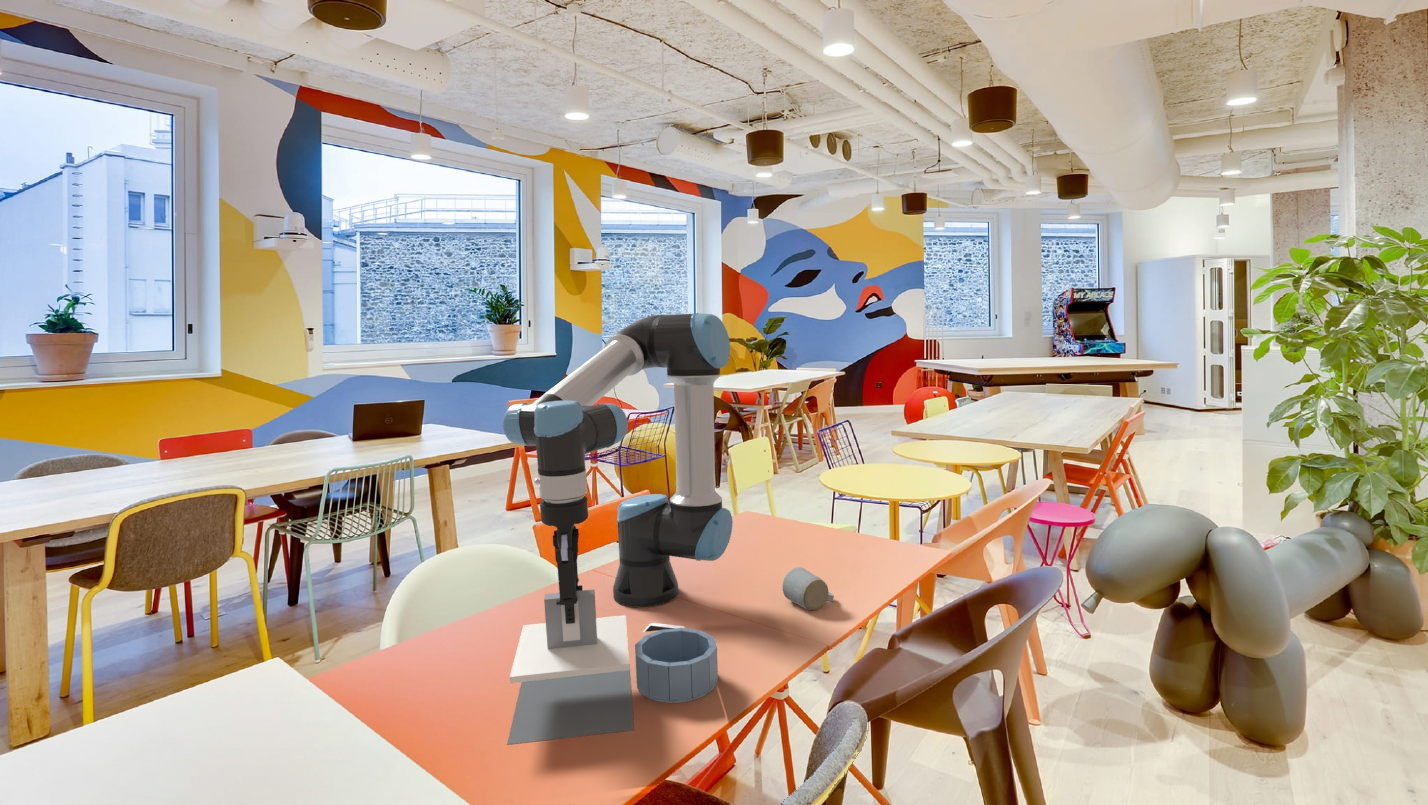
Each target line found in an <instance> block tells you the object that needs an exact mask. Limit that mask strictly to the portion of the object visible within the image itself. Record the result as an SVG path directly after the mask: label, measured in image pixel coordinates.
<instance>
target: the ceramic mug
mask: <svg viewBox="0 0 1428 805" xmlns="http://www.w3.org/2000/svg"><path fill="white" fill-rule="evenodd" d="M781 589H782V594H783V595H784V597H785V598H786V599H787V600H789V601H790V602H793V603H794V604H796V605H799V606H800V607H802V608H803V609H805V610H809V611H817V610H819V609H821V608H822V607H824V605H825V604H826V603H827V602H828V603H832V602H833V601H834V597H835V596H834V593H831V592H829V588H828V584H827V583H826V582H825V581H824V580H823V579H822V578H821V577H819V576H818V575H816V574H814V573H812V572H810V571H809V570H807V569H806V568H803V567H800V566H797V567H794V568H791V570H789V571H788V572H787V573H786V575H785V576H784V579H783V581H782V588H781Z"/></svg>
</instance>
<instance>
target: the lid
mask: <svg viewBox="0 0 1428 805" xmlns="http://www.w3.org/2000/svg"><path fill="white" fill-rule="evenodd" d="M576 593H577V598H578V607H579V623H580V640H574V641H564V642H563V628H562V613H561V605H557V604H556V602H557V600H560V593H559V592H551V593H545V594H544V599H543V600H544V602H543V603H544V617H545V618H544V619H545V622H544V623H543V622H541V623H532V624H531V623H530V624H523V626H522V630H521V632H520V637H519V640H518V645H517V648H516V651H515V657H514V659H513V663H512V666H511V671H510V674H509V684H515V683H522V682H526V681H535V680H544V679H553V678H562V677H571V676H580V675H589V674H598V673H607V672H617V671H626V670H630V671H631V668H630V669H629V666H630V655H629V640H628V630H627V629H628V627H627V614H623V615H613V616H605V617H604V616H602V617H597V611H596V610H597V609H596V607H597V606H596V592H595V589H585V590H583V589H582V591H576Z"/></svg>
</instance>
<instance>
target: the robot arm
mask: <svg viewBox="0 0 1428 805" xmlns="http://www.w3.org/2000/svg"><path fill="white" fill-rule="evenodd" d="M729 337H730V336H729V334H728V330H727V328H726V326H725V324H724V323H723V321H722V320H721V319H720V318H719V317H718V316H717V315H716V314H711V313H701V312H700V313H699V312H696V313H681V314H680V313H679V314H677V313H675V314H654V315H650V316H646V317H643V318H641V319H639V320H637V321H635V322H632V323H630V324H629V325H627V326H625V327H623V328H622V329H621V330H618V331H617V332H616V333H615V334H613V335H612V336H610V337H609V338H608V340H607V341H606V342H605V345H604V348H603V349H601V350H600V351H598V353H596V354H595V355H593V356H592V357H591V358H589V359H588V360H587V361H586V362H584V363H583V364H582V365H581V366H579V367H578V368H576V369H575V370H574V371H573V372H570V374H568V376H566V377H564V378H563V379H562V380H561V381H560V382H558V383H557V384H556V385H554V386H553V387H551V388H550V389H549V390H547V391H546V392H545V393H543V395H541V396H540V397H538V398H537V399H535V400H534V401H533V402H530V403H527V402H522V403H514V404H512V405H510V407H508V408H507V410H506V411H505V413H504V415H503V419H502V429H503V432H504V435H505V437H506V439H507V440H508V441H509V442H511V443H513V444H516V445H521V446H522V445H523V446H526V447H535V448H536V460H537V462H536V463H537V472H538V474H537V476H538V478H535V479H534V484H535V485H537V486H538V485H539V487H538V489H539V497H540V498H541V500H540V502H539V507H540V508H539V509H540V510H539V511H540V512H539V513H540V521H541V523H542V524H543V525H545V526H548V527H555V528H556V529H555V530H553V535H552V545H553V547H554V554H555V562H556V563H557V564H556V566H557V577H558V580H557V581H558V590H559V592H558V593H560V600H557V602H556V604H557V605H561V613H562V628H563V642H564V641H574V640H580V623H579V607H578V598H577V593H576V591H582V590H583V585H582V584H581V585H578V584H579V582H580V580H579V575H578V574H579V573H578V553H579V539H580V538H579V537H580V533H579V528H577V527H576V525H579V524H582V523H584V522H585V521H586V520H587V519H588V518H589V508H588V507H589V505H588V504H589V503H588V497H586V494H587V492H588V486H587V484H588V483H587V481H588V480H587V469H586V457H585V455H587V454H590V453H594V452H597V451H599V450H602V449H607V448H610V447H612V446H614V445H616V444H618V443H619V442H622V441H623V440H624V438H625V437H626V435H627V433H628V431H629V430H628V428H629V423H628V418H627V415H626V413H625V412H624V410H623V409H622V407H620V406H619V405H617V404H614V403H611V402H610V403H609V402H607V403H598V401H599V400H601V399H602V398H603V397H604V396H605V395H606V394H608V393H609V392H610V391H611V390H612V389H613V388H614V387H616V386H617V385H618V384H619V383H620V382H621V381H623V380H624V379H625V378H627V376H629V377H630V376H635V375H637V374H638V373H640V372H641V371H642V370H645V369H652V368H653V369H654V368H666V377H667V378H668V379H669V380H670V381H671V382H672V383H673V387H674V390H673V391H674V439H675V443H674V444H675V478H676V479H675V487H676V488H675V489H676V490H675V493H674V494H673V495H672V496H671V497H670V498H668V496H667V495H666V494H663V493H651V494H650V493H649V494H643V495H638V496H635V497H631V498H627V499H625V500H624V501H621V503H619V505H618V506H617V519H616V523H617V535H618V536H617V537H618V538H617V540H618V554H619V555H618V556H619V557H618V558H619V564H618V565H619V566H618V569H617V572H616V577H615V580H614V583H613V586H612V594H613V599H614V601H615V602H616V603H618V604H621V605H623V606H626V607H636V608H646V607H647V608H649V607H655V606H661V605H664V604H667V603H669V602H671V601H673V600H674V599H676V598H677V597H678V595H679V583H678V579H677V577H676V574H675V572H674V568H673V567H672V563H671V561H670V560H671V558H670V557H674V558H682V559H690V560H696V561H697V562H698V561H699V562H701V561H707V562H708V561H709V562H713V561H716V560H718V559H720V558H721V557H722V556H723V554H724V553H725V551H726V549H727V548H728V546H729V543H730V540H731V536H732V531H733V516H732V513H731V511H730V510H729V509H727V508H726V507H723V497H722V496H721V495H720V494H719V493H718V492H717V491H716V471H715V469H716V467H715V466H716V465H715V459H716V458H715V407H714V406H715V404H714V403H715V402H714V397H715V396H714V394H715V393H714V383H715V381H718V379H719V378H720V376H721V369H723V368H724V367H726V366H727V365H728V363H729V360H730V356H731V342H730V338H729ZM596 403H598V404H596ZM595 404H596V405H595Z"/></svg>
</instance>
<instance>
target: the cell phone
mask: <svg viewBox="0 0 1428 805" xmlns="http://www.w3.org/2000/svg"><path fill="white" fill-rule="evenodd" d="M675 628H686V626H684V625H675V624H674V625H673V624H667V623H666V624H665V623H658V622H651V623H649V624H648V625H647V626H646V627H645V629H643V631H642V633H646V632H657V631H660V630H664V629H675Z"/></svg>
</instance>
